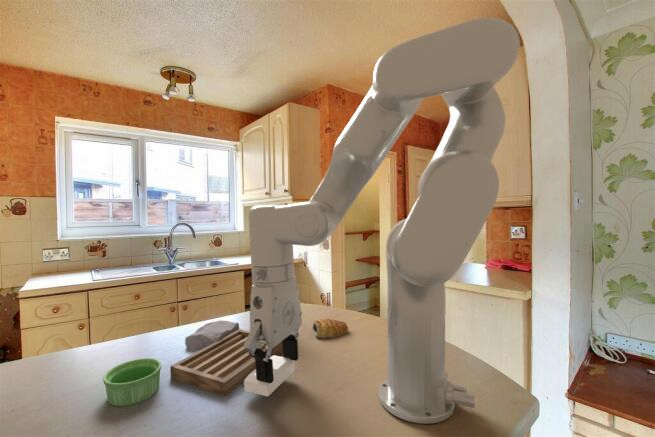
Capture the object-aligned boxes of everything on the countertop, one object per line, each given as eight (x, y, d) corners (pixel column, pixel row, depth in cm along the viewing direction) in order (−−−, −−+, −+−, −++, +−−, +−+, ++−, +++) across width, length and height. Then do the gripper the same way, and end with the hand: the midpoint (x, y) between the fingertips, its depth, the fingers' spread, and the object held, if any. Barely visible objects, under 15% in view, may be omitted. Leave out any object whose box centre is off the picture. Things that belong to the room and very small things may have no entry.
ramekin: (126, 379, 62) (125, 357, 62) (171, 379, 62) (170, 358, 61) (91, 409, 53) (90, 383, 53) (143, 409, 53) (142, 384, 52)
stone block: (182, 358, 74) (219, 353, 72) (178, 338, 74) (215, 332, 72) (210, 338, 86) (243, 333, 84) (206, 321, 86) (239, 316, 84)
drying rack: (286, 349, 74) (286, 338, 74) (224, 396, 56) (224, 382, 56) (239, 338, 80) (239, 329, 80) (170, 378, 62) (170, 366, 62)
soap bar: (295, 370, 61) (294, 356, 61) (267, 396, 53) (267, 381, 53) (274, 365, 63) (273, 352, 63) (244, 390, 55) (243, 375, 55)
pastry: (343, 326, 88) (342, 313, 88) (352, 336, 81) (352, 321, 81) (310, 331, 85) (310, 317, 85) (317, 341, 79) (317, 326, 78)
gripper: (260, 287, 47) (266, 402, 48) (314, 264, 63) (318, 351, 63) (222, 283, 50) (228, 391, 51) (282, 263, 66) (287, 346, 66)
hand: (278, 368), depth 57 cm, fingers closed on soap bar, 7 cm apart
